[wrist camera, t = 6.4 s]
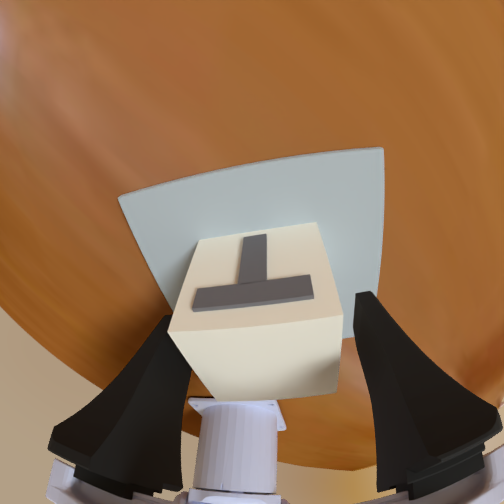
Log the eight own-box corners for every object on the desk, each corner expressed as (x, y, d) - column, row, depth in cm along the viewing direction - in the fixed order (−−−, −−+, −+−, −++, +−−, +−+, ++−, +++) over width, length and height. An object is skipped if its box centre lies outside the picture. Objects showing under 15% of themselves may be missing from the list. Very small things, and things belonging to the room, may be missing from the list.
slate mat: (369, 329, 15) (370, 333, 15) (198, 349, 17) (197, 352, 17) (380, 146, 9) (383, 148, 9) (120, 195, 11) (117, 198, 10)
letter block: (322, 306, 14) (336, 392, 10) (228, 317, 14) (217, 401, 10) (316, 218, 11) (343, 310, 7) (197, 237, 11) (165, 328, 7)
